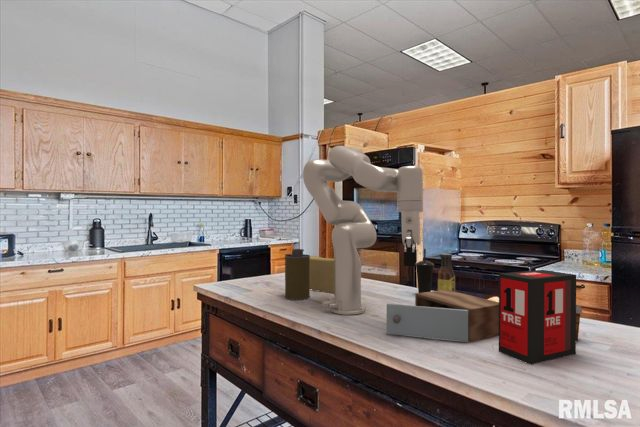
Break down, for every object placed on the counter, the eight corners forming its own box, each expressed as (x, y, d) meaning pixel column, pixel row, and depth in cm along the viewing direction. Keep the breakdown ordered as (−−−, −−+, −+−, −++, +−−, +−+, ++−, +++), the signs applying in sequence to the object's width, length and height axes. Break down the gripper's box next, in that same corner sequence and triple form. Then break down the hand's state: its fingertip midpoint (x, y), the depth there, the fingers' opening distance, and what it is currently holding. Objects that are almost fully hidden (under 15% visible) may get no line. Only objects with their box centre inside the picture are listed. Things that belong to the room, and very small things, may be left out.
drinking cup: (434, 294, 162) (434, 248, 162) (433, 298, 154) (433, 249, 154) (416, 293, 164) (416, 247, 164) (414, 296, 157) (414, 249, 157)
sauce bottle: (456, 309, 137) (456, 255, 137) (438, 308, 138) (438, 254, 138) (453, 305, 143) (453, 253, 143) (436, 304, 144) (436, 252, 144)
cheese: (350, 292, 165) (350, 258, 165) (336, 296, 158) (336, 260, 158) (313, 285, 180) (313, 254, 180) (298, 289, 172) (299, 256, 172)
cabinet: (470, 342, 102) (470, 309, 102) (415, 321, 122) (415, 293, 122) (504, 334, 109) (504, 303, 109) (446, 315, 128) (446, 289, 128)
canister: (314, 296, 157) (315, 248, 157) (300, 301, 148) (300, 251, 148) (293, 293, 162) (294, 247, 162) (278, 298, 154) (278, 249, 154)
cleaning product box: (542, 342, 102) (542, 269, 102) (575, 354, 94) (576, 274, 94) (498, 351, 96) (499, 273, 96) (530, 364, 88) (530, 279, 88)
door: (468, 343, 100) (468, 312, 100) (385, 335, 107) (385, 305, 107) (467, 340, 103) (467, 310, 103) (386, 332, 109) (387, 303, 109)
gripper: (422, 206, 104) (422, 268, 104) (423, 207, 121) (424, 261, 120) (394, 206, 106) (395, 267, 106) (399, 208, 123) (400, 260, 123)
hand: (410, 263), depth 113 cm, fingers open, 9 cm apart
